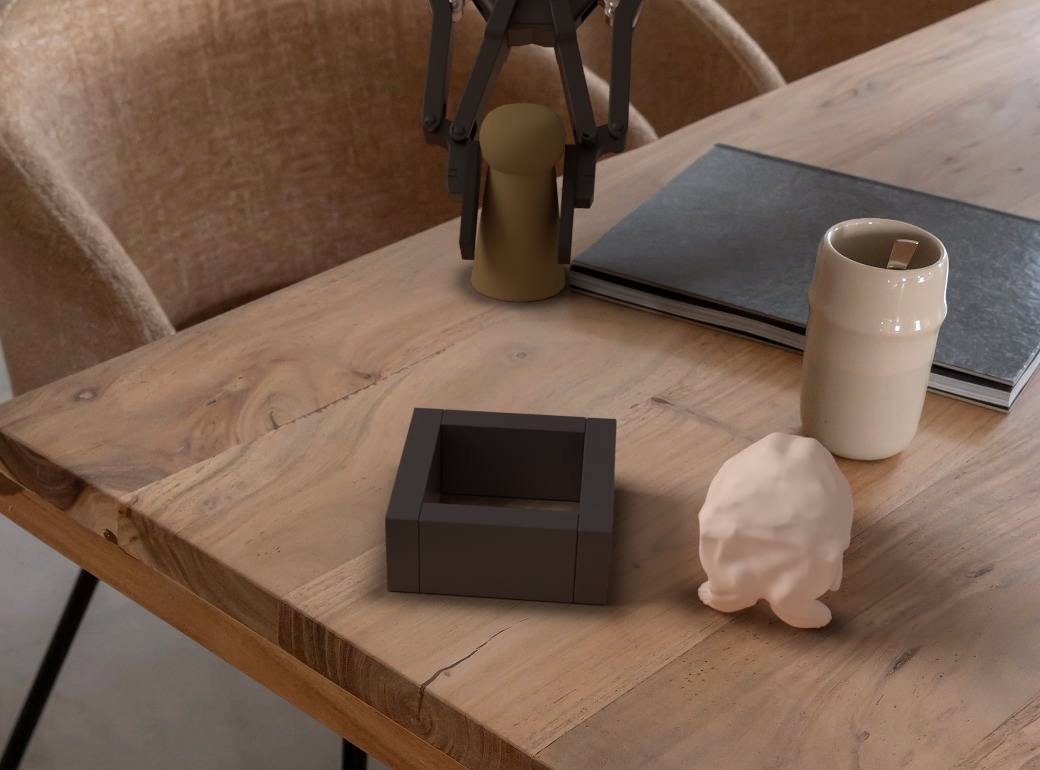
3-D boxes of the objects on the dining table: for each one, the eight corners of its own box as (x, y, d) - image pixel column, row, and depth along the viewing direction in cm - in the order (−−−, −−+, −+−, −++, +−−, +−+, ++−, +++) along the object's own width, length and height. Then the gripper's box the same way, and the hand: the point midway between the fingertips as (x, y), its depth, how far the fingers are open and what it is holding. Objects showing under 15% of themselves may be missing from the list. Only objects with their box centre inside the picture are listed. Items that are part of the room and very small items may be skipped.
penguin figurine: (700, 459, 59) (752, 356, 69) (676, 636, 64) (728, 515, 73) (859, 488, 57) (890, 378, 67) (823, 668, 62) (856, 540, 72)
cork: (456, 292, 92) (457, 118, 86) (489, 256, 97) (493, 88, 90) (548, 308, 91) (556, 131, 84) (577, 270, 95) (587, 99, 88)
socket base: (611, 487, 74) (616, 418, 72) (606, 605, 66) (612, 532, 64) (415, 475, 75) (414, 406, 72) (386, 591, 67) (384, 517, 65)
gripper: (391, -141, 89) (357, 222, 86) (694, -135, 87) (671, 236, 84) (404, -68, 96) (374, 269, 93) (684, -61, 95) (662, 283, 91)
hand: (515, 253), depth 89 cm, fingers closed on cork, 5 cm apart
